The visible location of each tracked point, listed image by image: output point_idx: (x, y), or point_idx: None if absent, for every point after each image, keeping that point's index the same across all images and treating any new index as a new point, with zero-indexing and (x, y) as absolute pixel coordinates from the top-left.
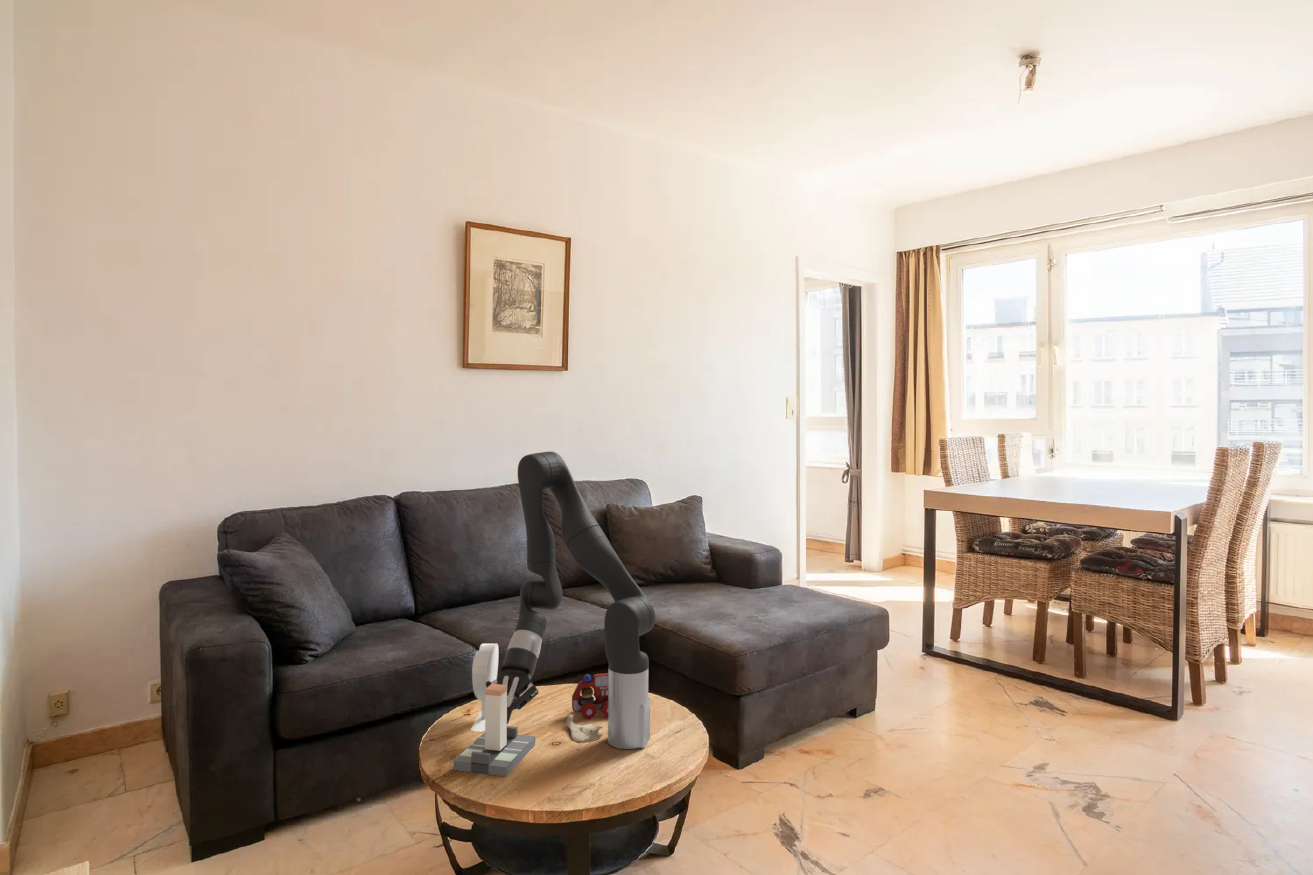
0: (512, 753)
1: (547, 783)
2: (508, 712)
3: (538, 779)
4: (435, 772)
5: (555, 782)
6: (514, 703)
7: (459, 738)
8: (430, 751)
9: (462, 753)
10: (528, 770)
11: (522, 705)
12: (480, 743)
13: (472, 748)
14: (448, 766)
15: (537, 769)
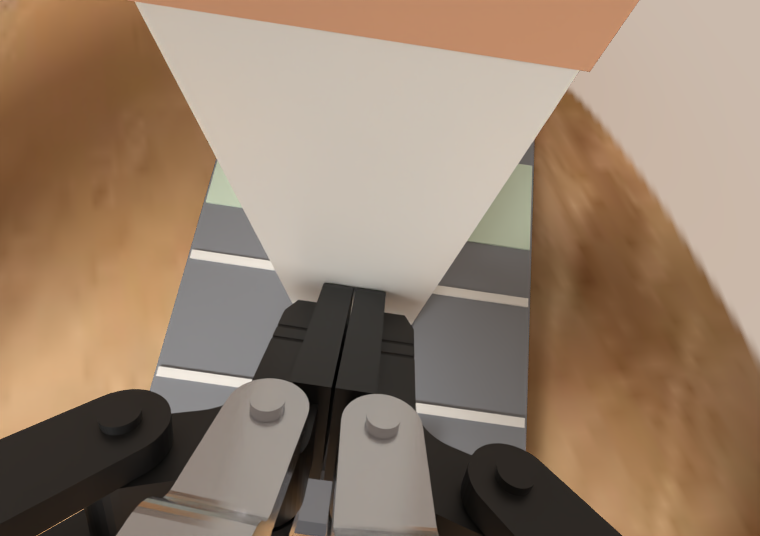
0: (239, 215)
1: (48, 59)
2: (268, 356)
3: (93, 88)
4: (585, 118)
5: (8, 69)
6: (161, 410)
7: (679, 532)
8: (736, 323)
9: (525, 186)
10: (152, 164)
11: (73, 525)
12: (479, 333)
13: (499, 259)
14: (557, 173)
15: (105, 177)
